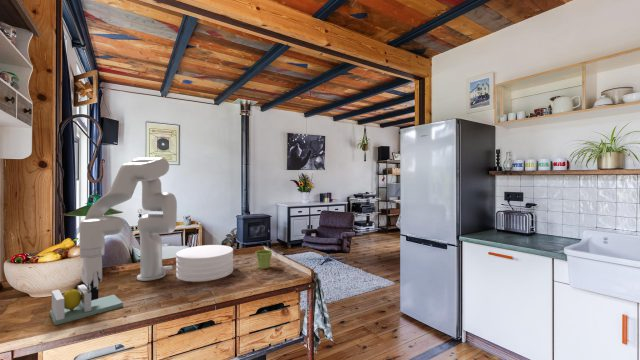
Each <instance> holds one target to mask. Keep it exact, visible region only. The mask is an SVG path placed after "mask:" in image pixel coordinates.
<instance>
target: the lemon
mask: <svg viewBox="0 0 640 360" xmlns="http://www.w3.org/2000/svg"><path fill="white" fill-rule="evenodd" d="M62 296H63V297H64V308H65V309H69V310H73V309H74V308H76V307H77V306H78V305H79V304H80V302H81V294H80V292H79V291H78V289H75V288H70V289H68V290H66V291H65V292H64V293H63V294H62Z"/></svg>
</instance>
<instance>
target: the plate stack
mask: <svg viewBox="0 0 640 360" xmlns="http://www.w3.org/2000/svg"><path fill="white" fill-rule="evenodd" d="M175 255H176V258H175V261H176V262H175V264H176V265H175V266H176V268H175V270H176V273H175V274H176V275H175V277H176V279H178V280H180V281H184V282H207V281H213V280H218V279H221V278H225V277H227V276H229V275H231V274H232V273H233V271H234V247H231V246H229V245H223V244H207V245H206V244H205V245H197V246H191V247H186V248H184V249H180V250H179V251H177V252H176V254H175Z"/></svg>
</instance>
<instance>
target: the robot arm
mask: <svg viewBox="0 0 640 360" xmlns="http://www.w3.org/2000/svg"><path fill="white" fill-rule="evenodd" d="M169 170H170V163H169V161H168V160H167V159H166V158H164V157H136V158H133V159H132V160H131V162H127V163H123V164H122V165H121V166H120V167H119V170H118V171H117V174H116V176H115V178H114V181H113V182H112V184H111V187H110V189H109V190H108V192H106V193H105V194H104V195H102V196H101V197H100V198H98V199H97V200H96V201H95V202H94V203H92V205H91V206H90V208H89V209H88V211H87V213H86V215H85V217H84V219H83V220H82V221H81V220H80V223H79V258H82V259H81V275H80V276H81V277H80V278H81V279H80V280H81V281H82V282H83V284H84V285H85V286H86V287H87V288H88V289H89V290H90V292H91V301H92V300H96V299H98V298H99V283H101V282H102V281H103V260H102V258H103V257H102V256H104V255H105V253H106V252H105V237H106V236H115V235H118V234H120V233H122V231H124V229H125V227H126V222H125V220H124V219H123V218H122V217H120V216H114V215H112V216H111V215H105V214H106V212H107V211H109V210H110V209H111V208H113V207H116V206H117V205H119V204H123V203H125V202H127V201H129V200H130V199H132V198H133V194H134V193H135V189H136V188H137V184H138V183H139V182H141V207H142V209H143V210H144V211H147V212H162V213H161V214H160V213H146V214H144V215H141V216H140V217H139V218H138V221H137V228H138V233H139V240H140V242H139V243H140V244H139V245H140V246H139V247H140V250H139V251H140V252H139V253H140V255H139V256H140V257H139V258H140V260H139V261H140V265H139V266H140V274H138V275H136V279H137V281H143V282H144V281H145V282H146V281H147V282H150V281H155V280H159V279H161V278H164V277H165V276H166V271H171V270H173V265H165V266H164V265H163V239H162V238H161V235H160V234H171V233H174V232H175V230H176V228H177V219H178V213H177V212H178V210H177V209H178V205H177V204H178V203H177V201H178V200H177V198H176V196H175V194H174V193H171V192H162V181H161V179H160V178H161V177H163V176H165V175H167V174H168V172H169Z"/></svg>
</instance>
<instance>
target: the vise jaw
mask: <svg viewBox="0 0 640 360" xmlns="http://www.w3.org/2000/svg"><path fill="white" fill-rule="evenodd" d="M77 290H78V291H79V292H80V294H81V302H80V304H79V305H80V307H81V308H82V309H83V311H84V312H87V311H91V292H90V290H89V289H88V288H87V285H86V284H80V285H77Z"/></svg>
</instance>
